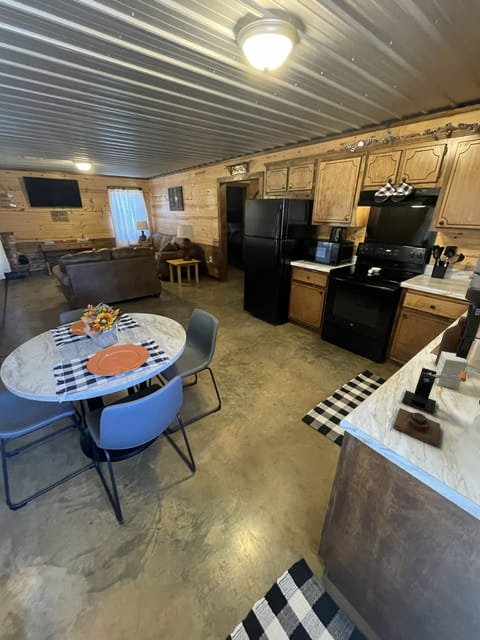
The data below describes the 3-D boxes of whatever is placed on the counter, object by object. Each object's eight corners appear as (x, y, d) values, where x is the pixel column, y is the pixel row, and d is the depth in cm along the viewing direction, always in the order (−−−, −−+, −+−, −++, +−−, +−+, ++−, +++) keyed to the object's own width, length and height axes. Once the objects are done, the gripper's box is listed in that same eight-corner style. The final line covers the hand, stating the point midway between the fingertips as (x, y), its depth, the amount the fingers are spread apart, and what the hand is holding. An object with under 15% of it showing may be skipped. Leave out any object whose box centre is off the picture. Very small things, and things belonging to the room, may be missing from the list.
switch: (467, 376, 89) (465, 370, 89) (467, 383, 86) (465, 376, 85) (424, 376, 98) (422, 370, 97) (422, 382, 94) (421, 376, 94)
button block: (438, 427, 88) (441, 419, 87) (436, 446, 81) (439, 437, 80) (398, 411, 95) (400, 403, 94) (392, 427, 88) (395, 419, 86)
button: (425, 419, 87) (426, 415, 86) (424, 426, 84) (425, 422, 84) (412, 414, 89) (414, 410, 88) (411, 420, 86) (412, 416, 86)
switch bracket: (435, 403, 99) (446, 372, 94) (433, 415, 94) (445, 382, 88) (405, 392, 105) (414, 363, 100) (401, 402, 99) (411, 372, 94)
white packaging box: (453, 379, 114) (463, 354, 109) (458, 389, 107) (468, 363, 102) (433, 375, 116) (441, 350, 112) (436, 384, 110) (445, 358, 105)
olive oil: (443, 372, 119) (462, 322, 109) (428, 360, 128) (444, 312, 119) (467, 373, 118) (487, 322, 109) (450, 360, 128) (467, 313, 119)
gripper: (468, 279, 92) (450, 334, 100) (467, 295, 74) (445, 360, 82) (497, 283, 87) (475, 340, 95) (504, 300, 69) (476, 369, 77)
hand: (461, 349), depth 89 cm, fingers open, 13 cm apart
